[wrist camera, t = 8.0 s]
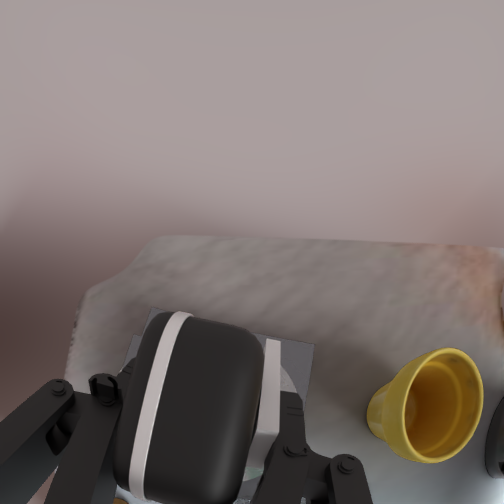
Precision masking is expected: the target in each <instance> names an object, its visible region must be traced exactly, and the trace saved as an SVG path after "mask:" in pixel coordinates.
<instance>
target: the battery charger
mask: <svg viewBox="0 0 504 504" xmlns="http://www.w3.org/2000/svg"><path fill="white" fill-rule="evenodd" d="M264 358H265V356H264V352H263V348H262V345H261V343H260V342H259V340H258V339H257V338H256V336H255V335H253V334H252V333H250V332H249V331H247V330H246V329H243V328H240V327H237V326H233V325H229V324H224V323H219V322H214V321H209V320H205V319H200V318H195V317H194V315H192V314H190V313H185V312H181V311H178V312H176V313H174V312H163V313H159V314H157V315H156V316H155V317H154V318H153V319H152V320H151V321H150V323H149V325H148V327H147V328H146V330H145V332H144V335H143V337H142V340H141V343H140V346H139V349H138V352H137V355H136V359H135V362H134V366H133V369H132V373H131V376H130V380H129V384H128V387H127V391H126V395H125V399H124V403H123V407H122V412H121V416H120V421H119V426H118V431H117V436H116V441H115V447H114V453H113V462H112V468H113V476H114V479H115V481H116V483H117V484H118V486H119V487H121V488H122V489H124V490H126V491H129V492H131V494H132V495H133V496H134V497H136V498H139V499H142V500H144V501H151V500H153V501H156V502H159V503H162V504H233V502H234V501H235V500H236V499H237V497H238V494H239V491H240V488H241V485H242V482H243V477H244V472H245V468H246V463H247V458H248V453H249V447H250V443H251V438H252V433H253V428H254V423H255V417H256V411H257V407H258V401H259V396H260V390H261V385H262V379H263V372H264Z"/></svg>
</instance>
